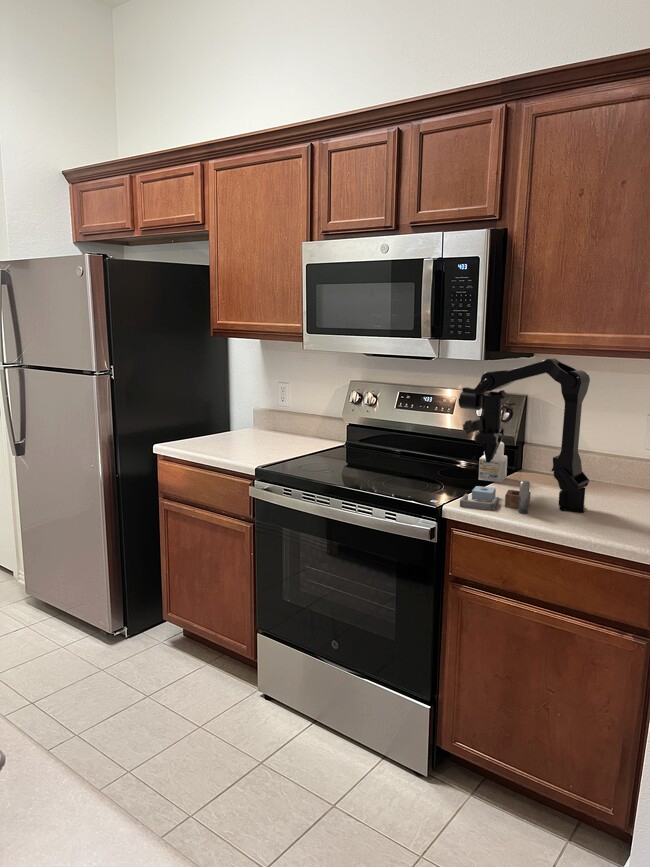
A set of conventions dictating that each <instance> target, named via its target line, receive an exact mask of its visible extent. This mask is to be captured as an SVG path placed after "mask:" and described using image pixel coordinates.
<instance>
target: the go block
mask: <svg viewBox="0 0 650 867" xmlns="http://www.w3.org/2000/svg"><path fill="white" fill-rule="evenodd" d="M519 494H520V490H515V489H508V490H507V491H506V494H505V496H504V508H505V507H506V508H514V509H519ZM530 505H531V491H529V504H528V508H529V507H530Z"/></svg>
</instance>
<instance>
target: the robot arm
mask: <svg viewBox="0 0 650 867" xmlns="http://www.w3.org/2000/svg"><path fill="white" fill-rule="evenodd" d="M544 374H546V375H549V377H551V378H552V379H553V381H554V382H557V383H558V384H560V388H561V394H562V398H563V401H564V411H563V412H564V413H563V422H562V425H563V426H562V433H561V434H562V435H561V445H560V446H561V447H560V448H561V449H560V453H559V455H556V456H553V457H552V469H551V472H553V478H554V479H555V480H556V481H557V483H558V487H559V493H558V507H559V510H560V511H567V512H568V511H569V512H577V513H584V512H585V506H586V504H585V502H586V501H585V500H586V499H585V498H586V487H588V485H589V483H590V479H589V478H588V476H587V475H586V474H585V473H584V472H583V468H582V459H581V457H580V454H579V441H580V431H581V419H582V406H583V401H584V399H585V397H586V396H587V393H588V389H589V386H590V382H591V380H590V375H589V374H588V373H587V372H586V371H585V370H582V369H579V370H577V369H576V368H574V367H573V366H570V365H567V364H566V363H563V362H561V361H560V360H558V359H557V358H554V357H553V358H545V359H544V360H541V361H540V360H539V361H537V362H533V363H530V364H526V365H523V366H519V367H515V368H512V369H502V370H501V369H500V370H493V371H492V370H491V371H485V372H483V374H482V375H481V378H480V381H479V382H478V384H477V385H476V387H474V388H471V387H467V386H464V387H463V388H462V391H461V393H460V395H459V398H458V406H459V408H460V409H465V410H473V411H479V410H481V409H482V410H481V411H482V413H481V415H480V416H479V418H477V419H474V420H472V419H469V420H465V421H464V423H463V424H462V427H463V428H462V430H463V431H464V433H465V435H468V434H470V433H473V432H477V431H478V432H479V433H477V434H476V435H474V436H475V439H474V443H475V444H476V443H477V444H480V445H481V446H482V448H483V454H484V453H485V458H486V462H488V463H490V461H491V460H492V459H493V457H494V455H495V453H496V451H497V449H498V447H499V444H500V442H502V440H503V439H504V438H503V436H505V435H506V427H504V425H502V418H503V414H502V408H503V407H502V405H503V404H502V403H503V399H504V400H505V399H508V398H510V395H509V394H507V392H505V390H504V389H503V388H506V387H507V386H509V385H511V384H513V383H514V382H517V381H521V380H524V379H529V378H532V377H533V378H534V377H537V376H540V375H544ZM495 390H499V391H495ZM488 392H489V393H488ZM499 434H500V435H501V436H499Z"/></svg>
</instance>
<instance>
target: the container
mask: <svg viewBox="0 0 650 867" xmlns="http://www.w3.org/2000/svg"><path fill="white" fill-rule="evenodd" d="M504 453H505V443H504V442H503V441H501V442H500V444H499V447H498V449H497V451H496V453H495V455H494V457H493V459H492V460H491V461H490V463H488V462H486V458H485V453H484V452H483V455H481V457H479V464H478V480H479V481H486V482H494V483H495V482H496V483H502V482H503V481H504V480H505V479H506V478H507V473H508V470H507V468H508V455H506V454H505V455H504Z"/></svg>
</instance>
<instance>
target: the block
mask: <svg viewBox="0 0 650 867" xmlns="http://www.w3.org/2000/svg"><path fill="white" fill-rule="evenodd" d="M496 489H497V488H496V487H490V486H480V485H478V486H477V485H476V486H475V487H474V488H472V490H471V500H473V499H477V500H476V501H481V500H485V501H484V502H489V501H492V500H493V499H494V498H495V497H496V492H497V490H496Z"/></svg>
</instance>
